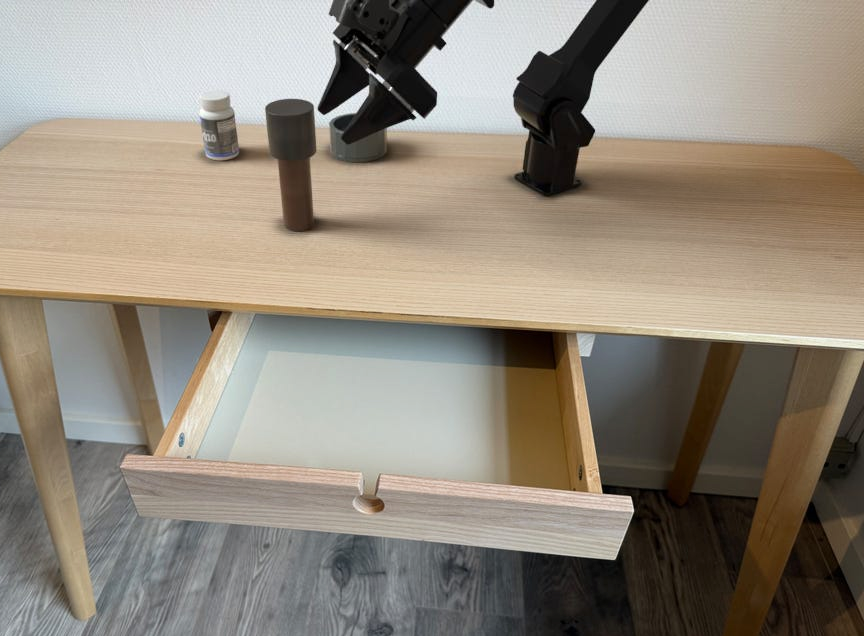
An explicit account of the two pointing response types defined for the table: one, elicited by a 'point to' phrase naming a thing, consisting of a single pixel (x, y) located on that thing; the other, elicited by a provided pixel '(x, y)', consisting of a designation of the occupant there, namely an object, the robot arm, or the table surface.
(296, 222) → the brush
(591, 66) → the robot arm
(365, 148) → the cup
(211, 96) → the pill bottle
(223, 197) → the table surface
